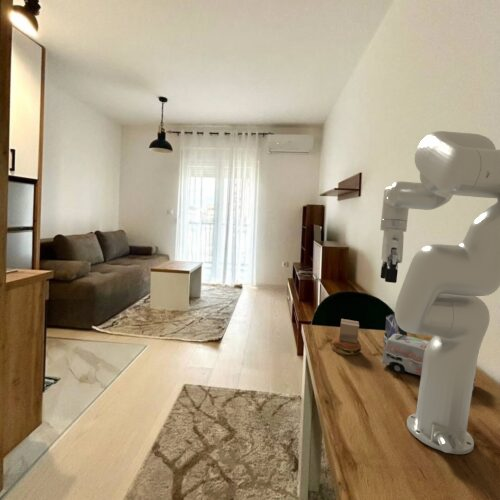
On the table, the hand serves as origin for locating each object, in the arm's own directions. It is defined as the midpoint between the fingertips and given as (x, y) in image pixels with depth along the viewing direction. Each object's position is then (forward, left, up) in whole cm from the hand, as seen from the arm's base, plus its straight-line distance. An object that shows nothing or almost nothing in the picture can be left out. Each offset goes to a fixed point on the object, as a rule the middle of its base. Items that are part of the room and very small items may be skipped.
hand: (387, 280), depth 103 cm
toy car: (-1, -14, -28) cm, 32 cm away
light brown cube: (+8, +10, -24) cm, 27 cm away
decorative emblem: (+15, -6, -28) cm, 33 cm away
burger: (+8, +10, -28) cm, 31 cm away
